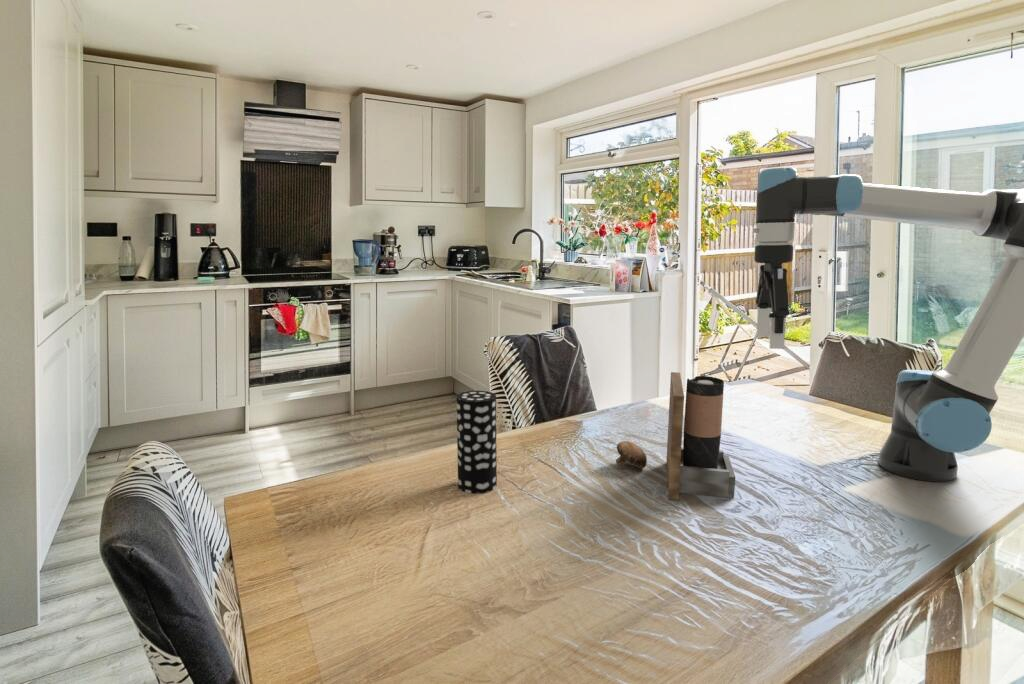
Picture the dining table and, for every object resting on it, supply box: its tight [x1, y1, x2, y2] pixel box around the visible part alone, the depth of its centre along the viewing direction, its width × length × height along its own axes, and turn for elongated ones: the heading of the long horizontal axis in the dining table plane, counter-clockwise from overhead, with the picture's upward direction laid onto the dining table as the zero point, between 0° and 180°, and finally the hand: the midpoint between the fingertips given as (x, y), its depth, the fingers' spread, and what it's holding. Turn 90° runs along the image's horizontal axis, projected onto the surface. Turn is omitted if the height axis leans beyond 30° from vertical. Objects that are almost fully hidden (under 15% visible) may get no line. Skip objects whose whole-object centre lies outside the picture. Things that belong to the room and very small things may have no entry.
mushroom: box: [615, 440, 648, 469], centre depth 142 cm, size 8×8×6 cm
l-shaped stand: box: [665, 371, 736, 501], centre depth 132 cm, size 13×20×22 cm, turn 167°
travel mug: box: [682, 375, 725, 469], centre depth 131 cm, size 8×8×20 cm
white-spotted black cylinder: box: [456, 390, 498, 495], centre depth 131 cm, size 8×8×20 cm
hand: (769, 342), depth 134 cm, fingers open, 13 cm apart
